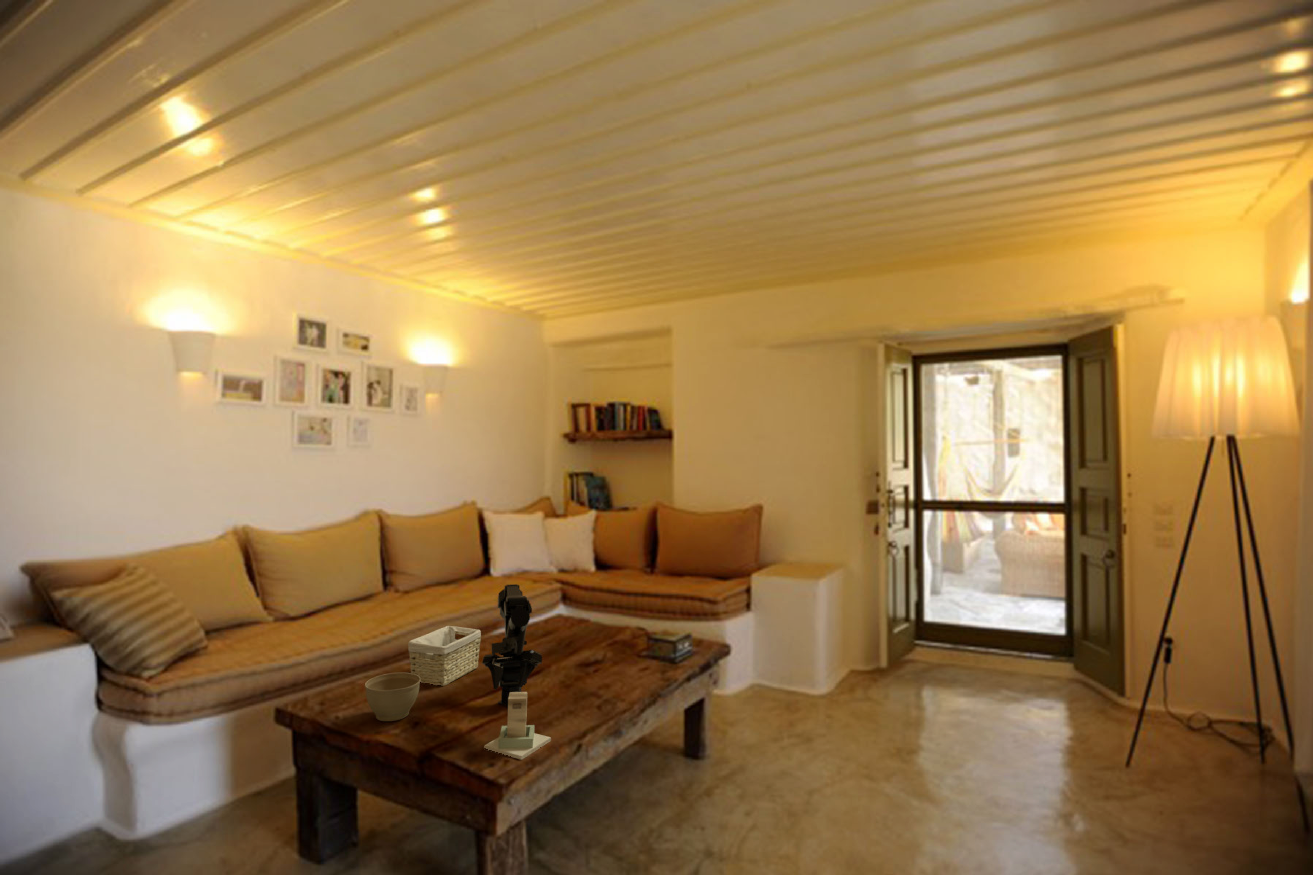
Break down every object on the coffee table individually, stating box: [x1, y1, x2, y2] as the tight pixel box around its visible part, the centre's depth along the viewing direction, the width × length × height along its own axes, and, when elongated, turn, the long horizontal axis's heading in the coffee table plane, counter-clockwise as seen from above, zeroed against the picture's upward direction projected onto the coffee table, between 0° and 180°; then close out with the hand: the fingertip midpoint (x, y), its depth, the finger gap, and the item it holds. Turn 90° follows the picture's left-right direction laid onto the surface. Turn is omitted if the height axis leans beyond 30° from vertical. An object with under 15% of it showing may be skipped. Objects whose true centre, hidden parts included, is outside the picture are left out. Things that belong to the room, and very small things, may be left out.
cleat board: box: [483, 724, 552, 761], centre depth 193 cm, size 14×14×4 cm
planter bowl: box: [364, 672, 421, 722], centre depth 211 cm, size 16×16×11 cm
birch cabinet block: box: [506, 691, 528, 738], centre depth 193 cm, size 6×5×13 cm
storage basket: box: [407, 625, 482, 687], centre depth 249 cm, size 24×16×15 cm
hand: (507, 688), depth 203 cm, fingers open, 9 cm apart
